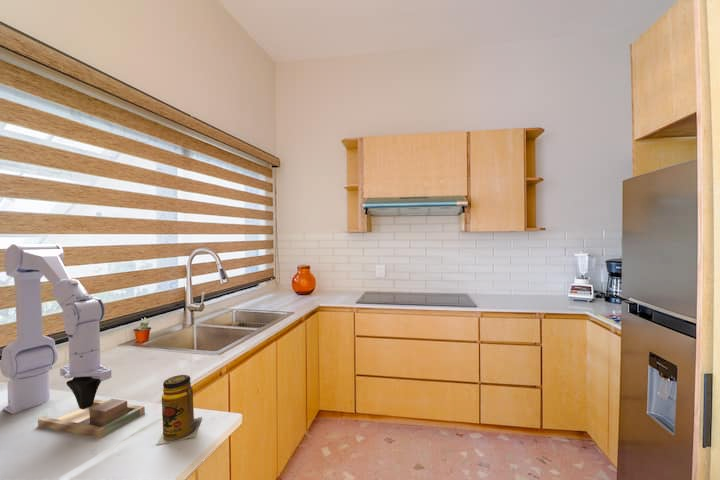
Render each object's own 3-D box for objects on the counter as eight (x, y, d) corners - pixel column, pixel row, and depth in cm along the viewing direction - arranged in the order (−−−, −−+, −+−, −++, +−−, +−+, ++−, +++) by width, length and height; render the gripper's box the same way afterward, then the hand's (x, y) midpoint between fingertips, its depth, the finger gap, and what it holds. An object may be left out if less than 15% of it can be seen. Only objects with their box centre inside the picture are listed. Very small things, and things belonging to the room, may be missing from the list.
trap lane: (38, 430, 74) (37, 419, 74) (87, 408, 84) (87, 398, 84) (99, 442, 68) (98, 430, 68) (144, 416, 78) (144, 406, 78)
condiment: (156, 445, 66) (154, 387, 67) (167, 424, 75) (165, 372, 75) (195, 438, 69) (193, 382, 69) (202, 418, 77) (200, 367, 77)
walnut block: (89, 426, 73) (89, 409, 73) (112, 415, 78) (112, 398, 78) (105, 429, 71) (105, 411, 72) (127, 417, 76) (127, 400, 76)
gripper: (44, 354, 75) (45, 411, 75) (87, 358, 71) (89, 419, 71) (78, 344, 82) (79, 397, 82) (119, 348, 78) (121, 404, 78)
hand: (86, 407), depth 77 cm, fingers closed
